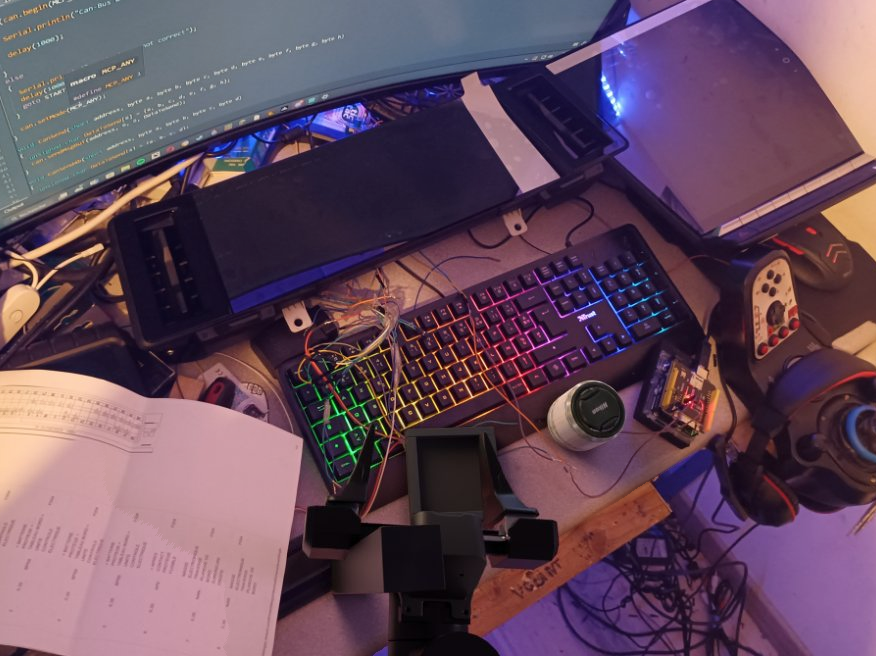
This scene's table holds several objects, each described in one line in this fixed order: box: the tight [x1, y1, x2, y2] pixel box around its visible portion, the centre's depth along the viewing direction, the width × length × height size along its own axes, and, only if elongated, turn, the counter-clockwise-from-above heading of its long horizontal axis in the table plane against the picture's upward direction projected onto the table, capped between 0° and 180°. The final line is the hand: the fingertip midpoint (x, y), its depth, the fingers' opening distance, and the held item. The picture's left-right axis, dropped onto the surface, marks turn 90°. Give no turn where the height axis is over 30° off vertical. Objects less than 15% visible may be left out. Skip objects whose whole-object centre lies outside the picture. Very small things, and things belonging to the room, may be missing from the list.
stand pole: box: [331, 524, 445, 595], centre depth 52 cm, size 3×3×38 cm
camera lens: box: [547, 379, 627, 452], centre depth 75 cm, size 6×6×8 cm
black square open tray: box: [404, 426, 498, 523], centre depth 73 cm, size 9×9×2 cm
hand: (428, 428), depth 59 cm, fingers open, 9 cm apart
